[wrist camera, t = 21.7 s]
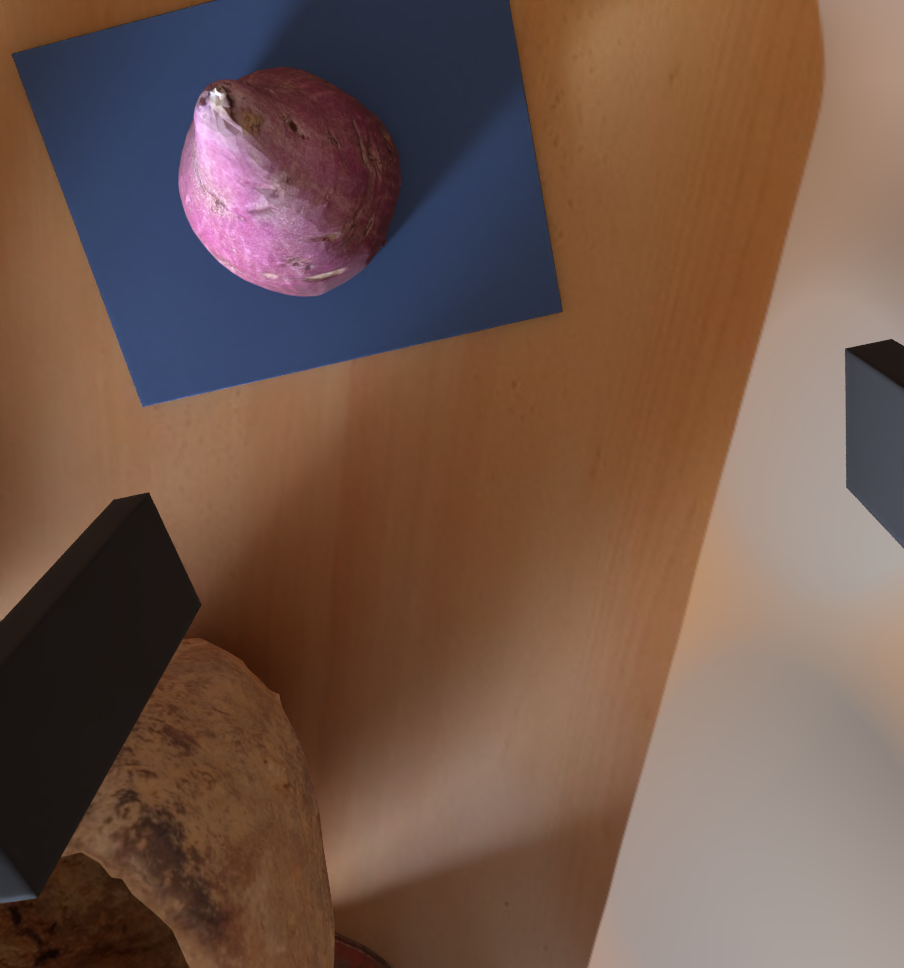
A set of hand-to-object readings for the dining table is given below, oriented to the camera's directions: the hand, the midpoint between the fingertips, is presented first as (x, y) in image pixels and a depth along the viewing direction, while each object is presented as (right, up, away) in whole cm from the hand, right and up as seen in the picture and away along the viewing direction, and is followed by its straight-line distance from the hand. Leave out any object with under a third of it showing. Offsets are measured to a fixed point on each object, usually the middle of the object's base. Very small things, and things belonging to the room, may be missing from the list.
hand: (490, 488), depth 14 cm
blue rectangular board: (-8, +15, +25) cm, 30 cm away
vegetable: (-8, +15, +25) cm, 30 cm away
